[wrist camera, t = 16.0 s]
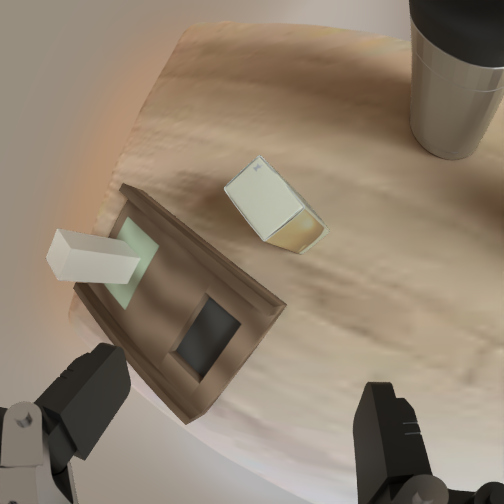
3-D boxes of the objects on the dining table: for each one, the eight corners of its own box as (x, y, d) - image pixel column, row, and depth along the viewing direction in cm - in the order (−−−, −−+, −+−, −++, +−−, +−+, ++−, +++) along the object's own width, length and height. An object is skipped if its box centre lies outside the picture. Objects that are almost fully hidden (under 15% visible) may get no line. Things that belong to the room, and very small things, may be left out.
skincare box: (270, 215, 37) (219, 185, 26) (298, 191, 36) (257, 150, 25) (303, 258, 35) (262, 244, 24) (332, 233, 34) (306, 206, 23)
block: (124, 240, 44) (57, 228, 33) (140, 258, 42) (70, 248, 31) (111, 265, 44) (45, 258, 34) (127, 284, 43) (58, 280, 32)
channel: (143, 190, 46) (122, 183, 42) (287, 304, 35) (273, 307, 31) (93, 289, 49) (73, 288, 45) (204, 413, 38) (185, 425, 34)
